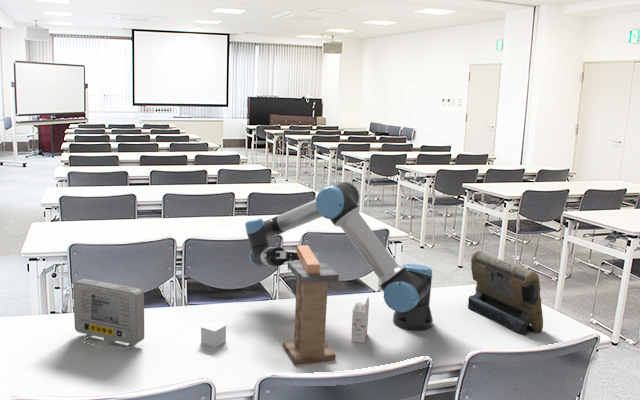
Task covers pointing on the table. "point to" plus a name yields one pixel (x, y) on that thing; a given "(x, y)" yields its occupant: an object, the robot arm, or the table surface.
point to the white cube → (213, 334)
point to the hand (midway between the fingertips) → (301, 255)
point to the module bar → (308, 259)
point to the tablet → (506, 293)
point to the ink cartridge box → (360, 322)
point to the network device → (109, 313)
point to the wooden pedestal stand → (310, 315)
